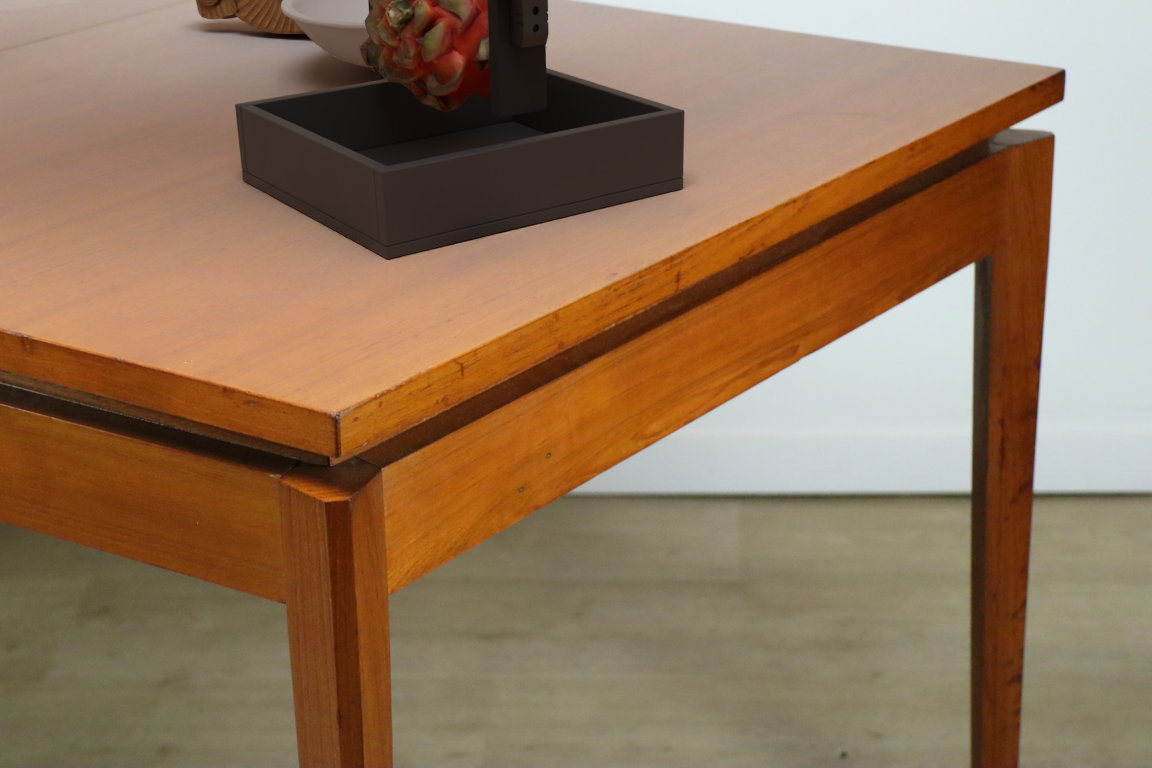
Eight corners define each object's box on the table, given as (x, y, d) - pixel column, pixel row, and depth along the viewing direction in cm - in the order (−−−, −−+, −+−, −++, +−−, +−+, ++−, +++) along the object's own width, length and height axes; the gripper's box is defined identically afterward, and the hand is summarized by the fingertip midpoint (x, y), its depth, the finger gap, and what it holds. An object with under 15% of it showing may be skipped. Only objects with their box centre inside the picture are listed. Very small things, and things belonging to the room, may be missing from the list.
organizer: (242, 180, 80) (234, 103, 78) (515, 126, 89) (514, 57, 87) (387, 259, 69) (381, 171, 67) (683, 188, 78) (685, 110, 76)
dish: (302, 48, 110) (296, -23, 107) (501, 43, 110) (499, -27, 108) (272, 109, 94) (264, 27, 91) (505, 103, 94) (502, 22, 92)
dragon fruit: (406, 166, 72) (469, 136, 83) (550, 62, 69) (595, 46, 80) (300, 14, 71) (379, 4, 82) (442, -97, 68) (503, -91, 79)
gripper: (663, -411, 61) (657, 124, 70) (379, -386, 78) (404, 41, 87) (508, -416, 57) (523, 152, 66) (244, -389, 74) (285, 60, 83)
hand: (455, 89), depth 77 cm, fingers closed on dragon fruit, 11 cm apart
